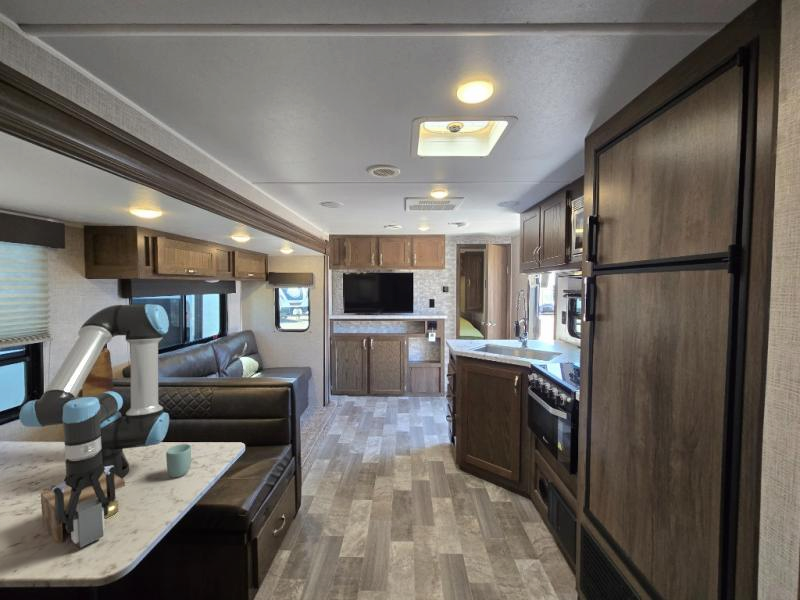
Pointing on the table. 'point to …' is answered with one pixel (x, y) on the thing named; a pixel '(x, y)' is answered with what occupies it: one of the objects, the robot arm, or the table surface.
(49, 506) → the brown piece
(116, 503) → the gold metal dome
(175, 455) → the cup
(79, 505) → the grey toy mallet
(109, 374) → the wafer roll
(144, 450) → the table surface
